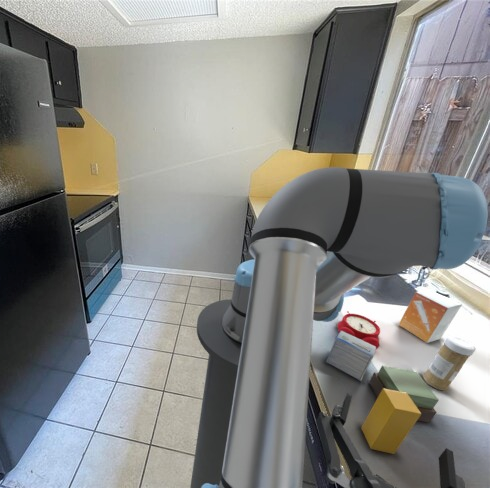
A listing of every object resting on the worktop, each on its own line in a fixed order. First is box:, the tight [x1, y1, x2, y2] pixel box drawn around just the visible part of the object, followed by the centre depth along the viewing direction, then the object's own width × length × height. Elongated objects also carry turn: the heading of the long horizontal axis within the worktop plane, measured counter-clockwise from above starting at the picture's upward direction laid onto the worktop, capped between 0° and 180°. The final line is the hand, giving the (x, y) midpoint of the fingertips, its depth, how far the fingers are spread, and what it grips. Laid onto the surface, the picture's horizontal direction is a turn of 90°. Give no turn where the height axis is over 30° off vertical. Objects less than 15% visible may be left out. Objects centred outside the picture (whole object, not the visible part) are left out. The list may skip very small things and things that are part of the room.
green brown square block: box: [368, 365, 440, 424], centre depth 58 cm, size 8×8×6 cm
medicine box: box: [325, 331, 377, 382], centre depth 65 cm, size 8×4×9 cm, turn 44°
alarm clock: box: [337, 311, 381, 350], centre depth 76 cm, size 10×6×15 cm
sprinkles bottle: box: [422, 334, 477, 391], centre depth 61 cm, size 5×5×14 cm
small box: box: [398, 288, 463, 344], centre depth 78 cm, size 8×6×13 cm
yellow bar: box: [360, 388, 421, 455], centre depth 49 cm, size 4×4×12 cm
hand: (392, 424), depth 46 cm, fingers open, 13 cm apart
